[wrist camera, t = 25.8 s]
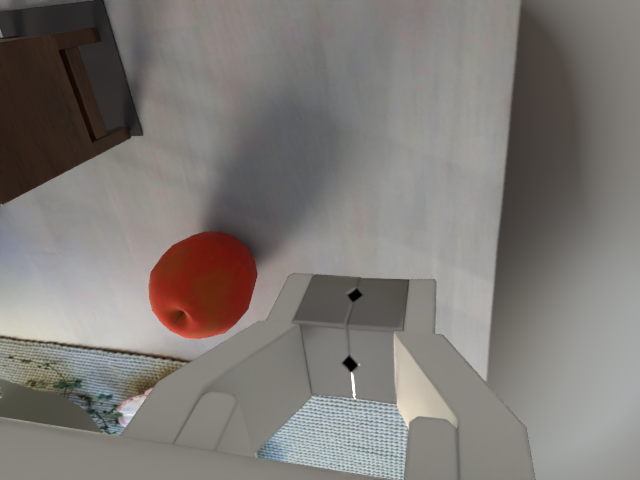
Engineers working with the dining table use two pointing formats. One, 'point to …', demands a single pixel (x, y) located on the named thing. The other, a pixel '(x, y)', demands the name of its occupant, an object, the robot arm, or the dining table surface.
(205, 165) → the dining table surface
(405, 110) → the dining table surface
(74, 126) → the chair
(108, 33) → the pad
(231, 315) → the apple
